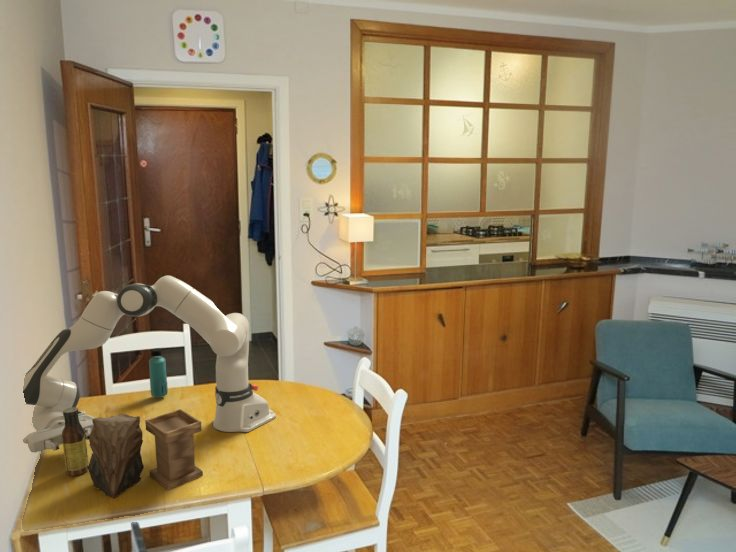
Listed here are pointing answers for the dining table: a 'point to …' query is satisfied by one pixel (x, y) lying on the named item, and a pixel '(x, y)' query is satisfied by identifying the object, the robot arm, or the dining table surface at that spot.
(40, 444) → the robot arm
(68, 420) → the sauce bottle
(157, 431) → the display stand
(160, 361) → the beverage bottle
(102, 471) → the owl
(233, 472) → the dining table surface
